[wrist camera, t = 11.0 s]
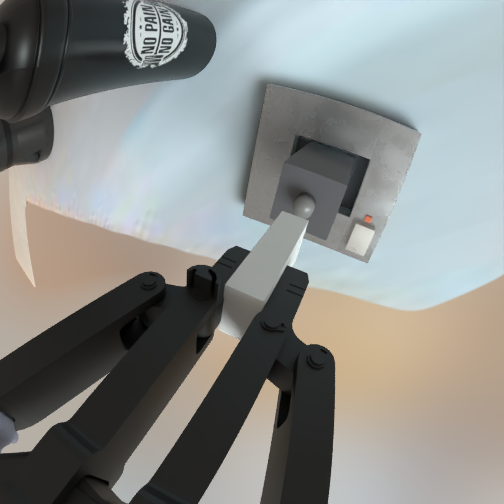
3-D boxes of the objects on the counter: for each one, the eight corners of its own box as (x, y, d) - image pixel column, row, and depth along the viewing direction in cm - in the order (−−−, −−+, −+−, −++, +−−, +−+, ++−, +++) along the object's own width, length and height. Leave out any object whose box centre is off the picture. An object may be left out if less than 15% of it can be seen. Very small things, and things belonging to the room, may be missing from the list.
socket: (250, 208, 32) (239, 218, 30) (274, 84, 23) (264, 83, 21) (368, 253, 29) (366, 267, 27) (417, 131, 20) (422, 134, 18)
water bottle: (223, 83, 25) (-10, 131, 7) (149, 89, 28) (-36, 146, 11) (224, -2, 19) (4, -43, 2) (149, 16, 23) (-38, 29, 5)
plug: (299, 181, 28) (263, 225, 20) (311, 140, 25) (278, 166, 17) (340, 197, 27) (323, 249, 19) (355, 157, 24) (345, 191, 16)
